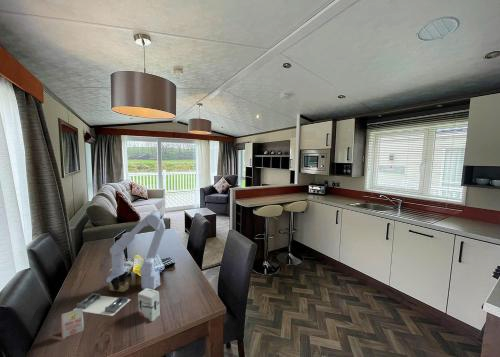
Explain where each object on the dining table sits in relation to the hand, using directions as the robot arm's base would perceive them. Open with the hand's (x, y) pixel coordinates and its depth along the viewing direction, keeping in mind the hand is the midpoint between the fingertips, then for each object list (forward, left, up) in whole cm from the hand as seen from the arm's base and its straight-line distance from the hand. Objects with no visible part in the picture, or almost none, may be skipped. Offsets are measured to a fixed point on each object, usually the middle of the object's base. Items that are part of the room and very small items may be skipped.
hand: (119, 287), depth 120 cm
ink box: (-29, +15, -2) cm, 33 cm away
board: (-2, +13, -2) cm, 13 cm away
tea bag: (-4, +30, -2) cm, 30 cm away
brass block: (0, 0, -1) cm, 1 cm away
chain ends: (-2, +13, -1) cm, 13 cm away
